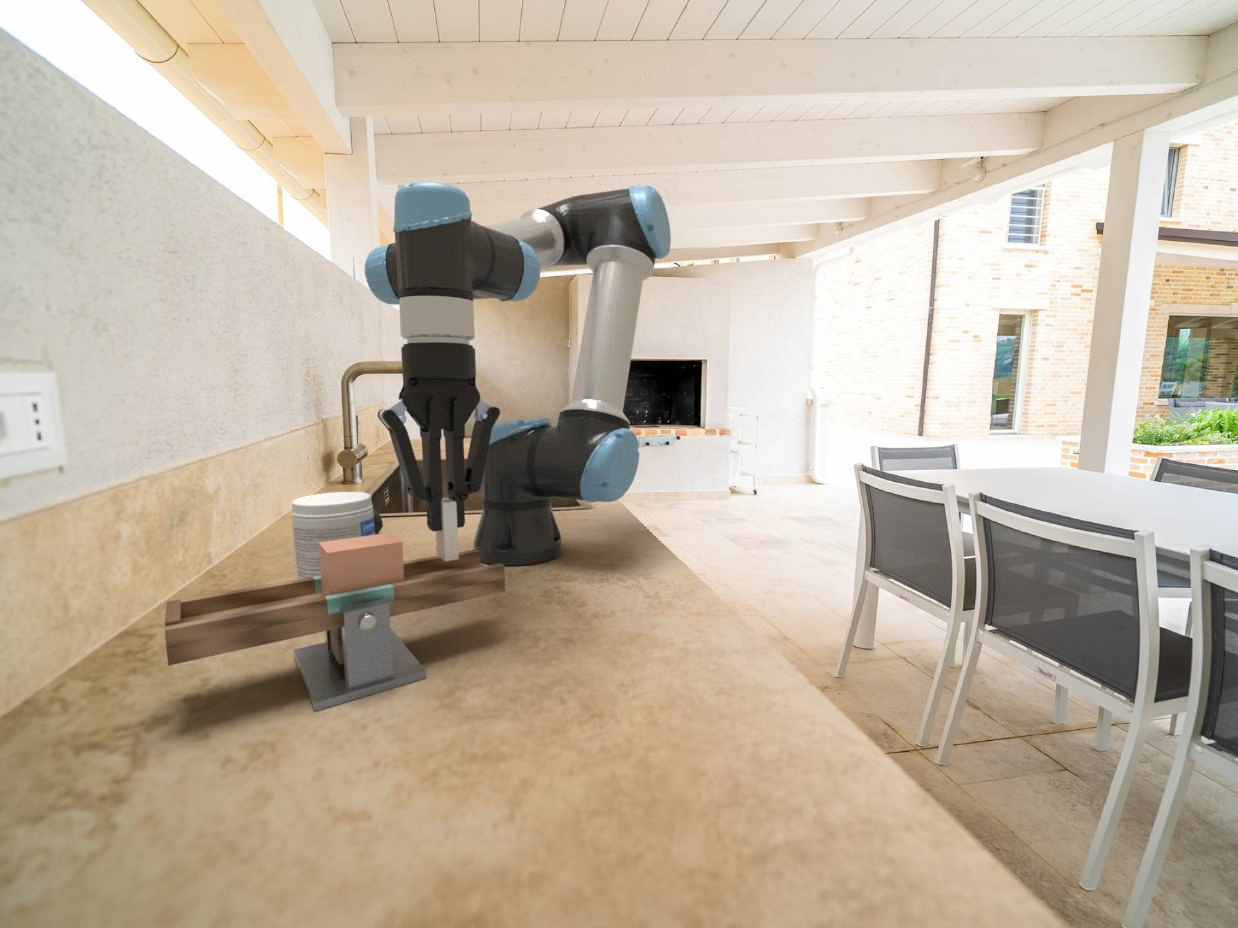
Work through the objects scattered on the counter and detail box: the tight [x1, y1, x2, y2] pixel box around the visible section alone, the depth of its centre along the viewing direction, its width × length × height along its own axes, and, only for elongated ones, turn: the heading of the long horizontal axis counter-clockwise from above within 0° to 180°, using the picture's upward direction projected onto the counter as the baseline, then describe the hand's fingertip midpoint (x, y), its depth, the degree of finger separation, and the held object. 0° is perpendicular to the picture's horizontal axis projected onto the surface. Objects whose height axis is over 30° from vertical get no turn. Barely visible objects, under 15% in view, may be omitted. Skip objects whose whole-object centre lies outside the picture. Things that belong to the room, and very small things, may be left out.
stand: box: [293, 598, 427, 712], centre depth 60 cm, size 10×13×8 cm
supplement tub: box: [291, 491, 375, 580], centre depth 76 cm, size 10×10×15 cm
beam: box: [164, 549, 506, 667], centre depth 59 cm, size 30×8×8 cm, turn 126°
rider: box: [319, 532, 404, 597], centre depth 59 cm, size 7×4×6 cm, turn 127°
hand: (447, 557), depth 65 cm, fingers closed
